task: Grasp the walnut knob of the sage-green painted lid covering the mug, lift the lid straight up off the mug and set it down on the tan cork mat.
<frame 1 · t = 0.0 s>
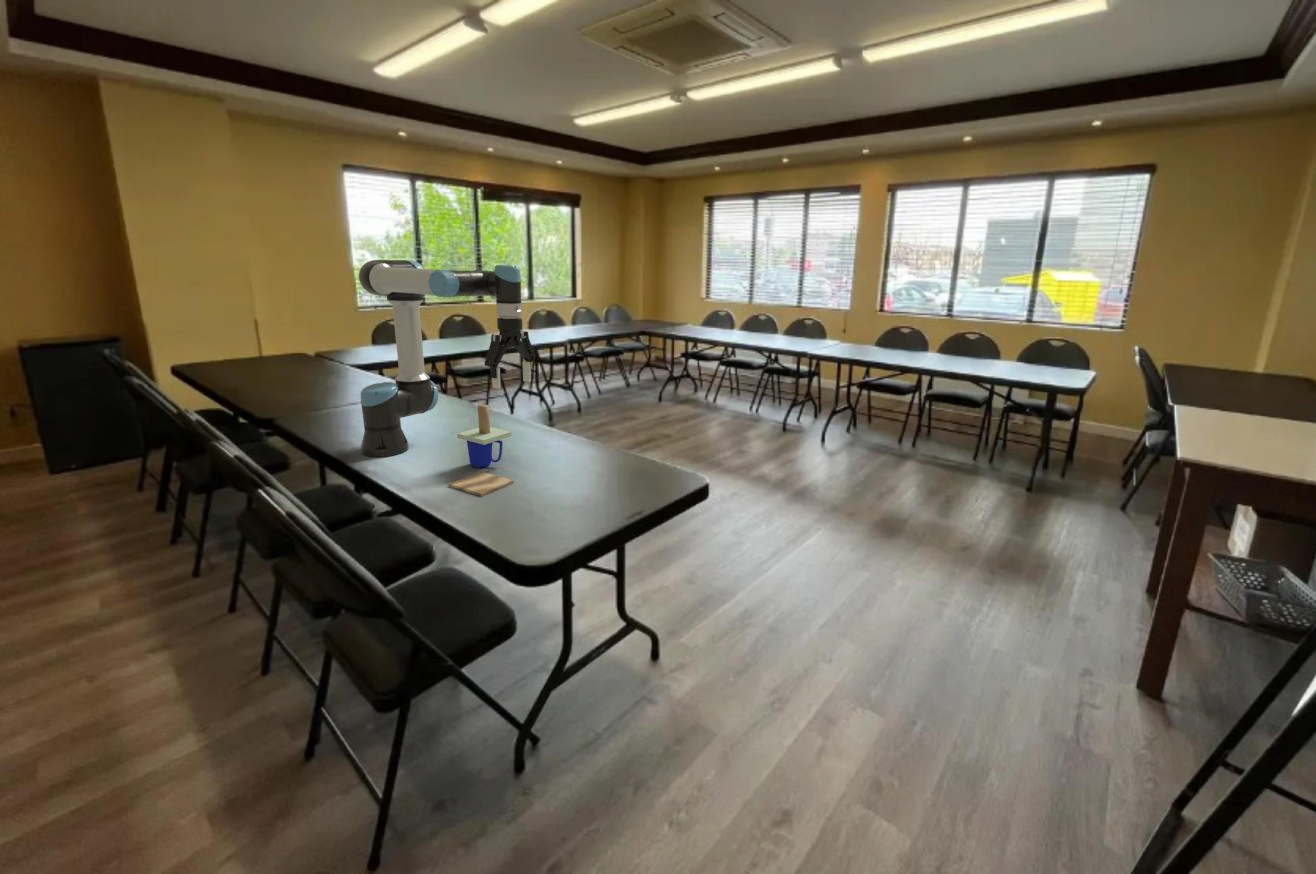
hand: (512, 384, 183), 28 cm above the table, fingers open, 13 cm apart
lid: (484, 437, 189), point 10 cm above the table, touching mug
mug: (486, 466, 192), on the table, touching lid
mat: (481, 484, 176), on the table
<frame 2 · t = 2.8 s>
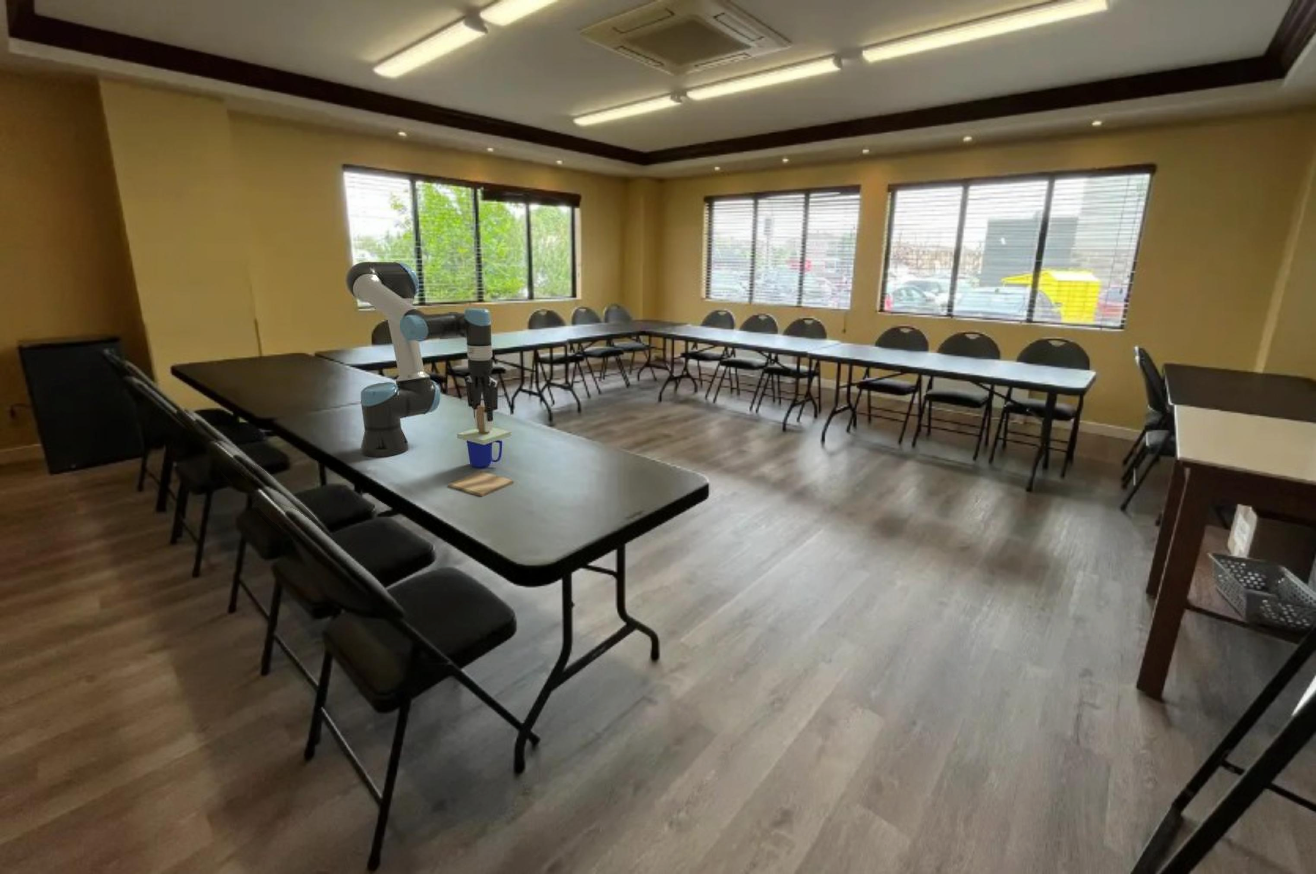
hand: (484, 429, 188), 13 cm above the table, fingers closed on lid, 3 cm apart
lid: (484, 437, 189), point 10 cm above the table, touching gripper, mug
everything else where it was.
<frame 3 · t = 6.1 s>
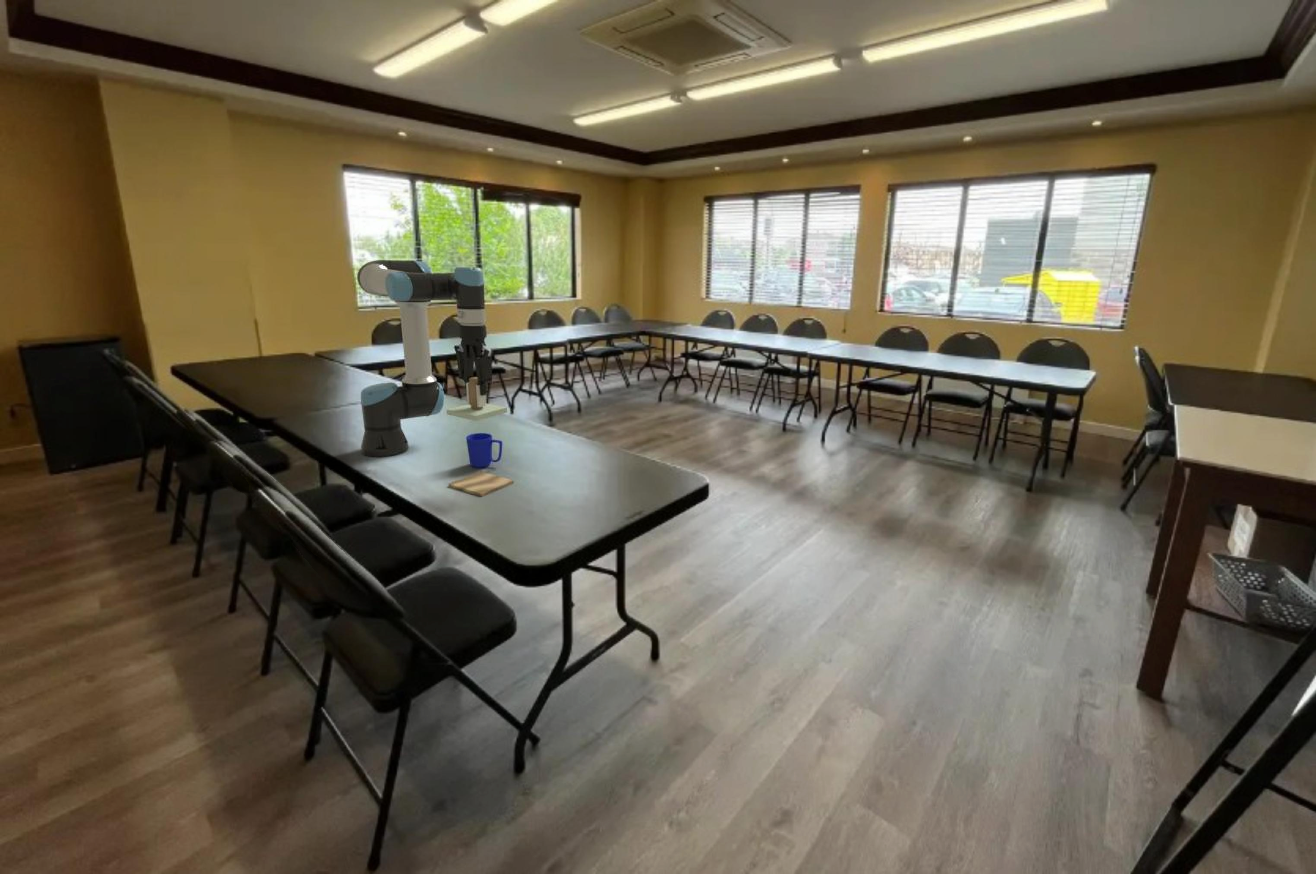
hand: (476, 404, 168), 25 cm above the table, fingers closed on lid, 3 cm apart
lid: (477, 413, 169), point 23 cm above the table, touching gripper
mug: (486, 466, 192), on the table
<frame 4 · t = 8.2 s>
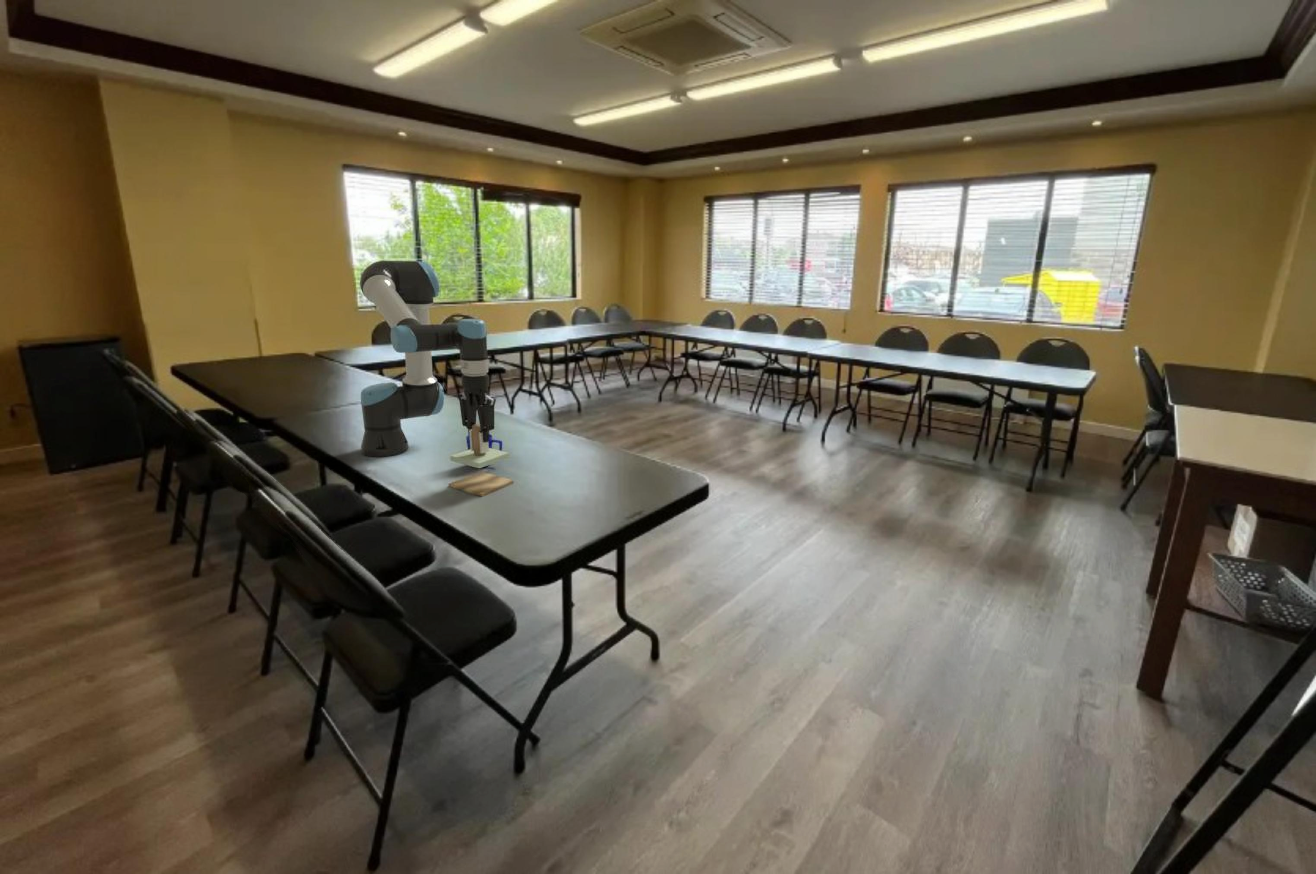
hand: (479, 450, 172), 11 cm above the table, fingers closed on lid, 3 cm apart
lid: (480, 458, 173), point 8 cm above the table, touching gripper
everything else where it was.
when the fingers open (5 cm above the table, at t = 9.8 s): lid drops 1 cm, resting on mat.
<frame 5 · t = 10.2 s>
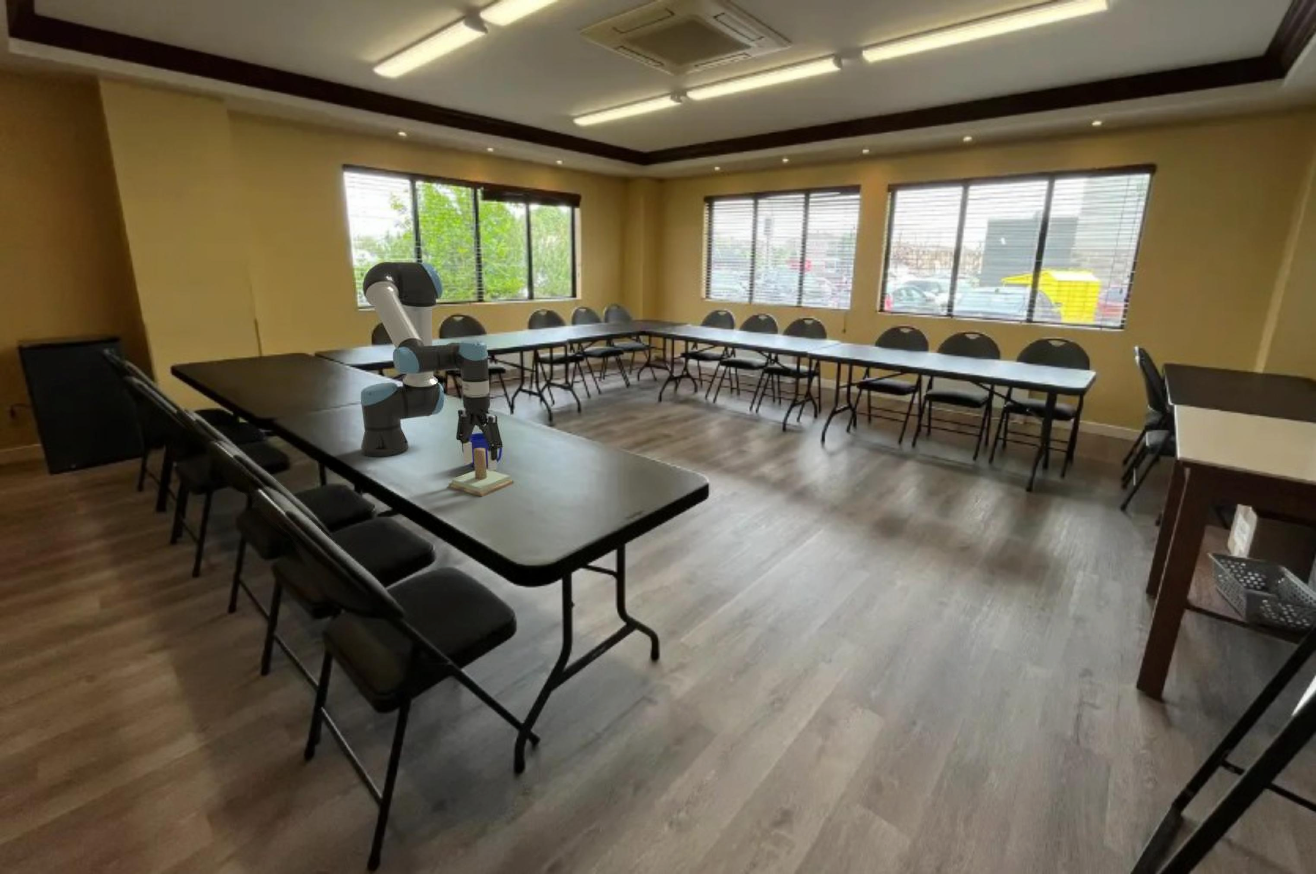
hand: (480, 466, 174), 6 cm above the table, fingers open, 9 cm apart
lid: (481, 482, 175), point 1 cm above the table, touching mat
everything else where it was.
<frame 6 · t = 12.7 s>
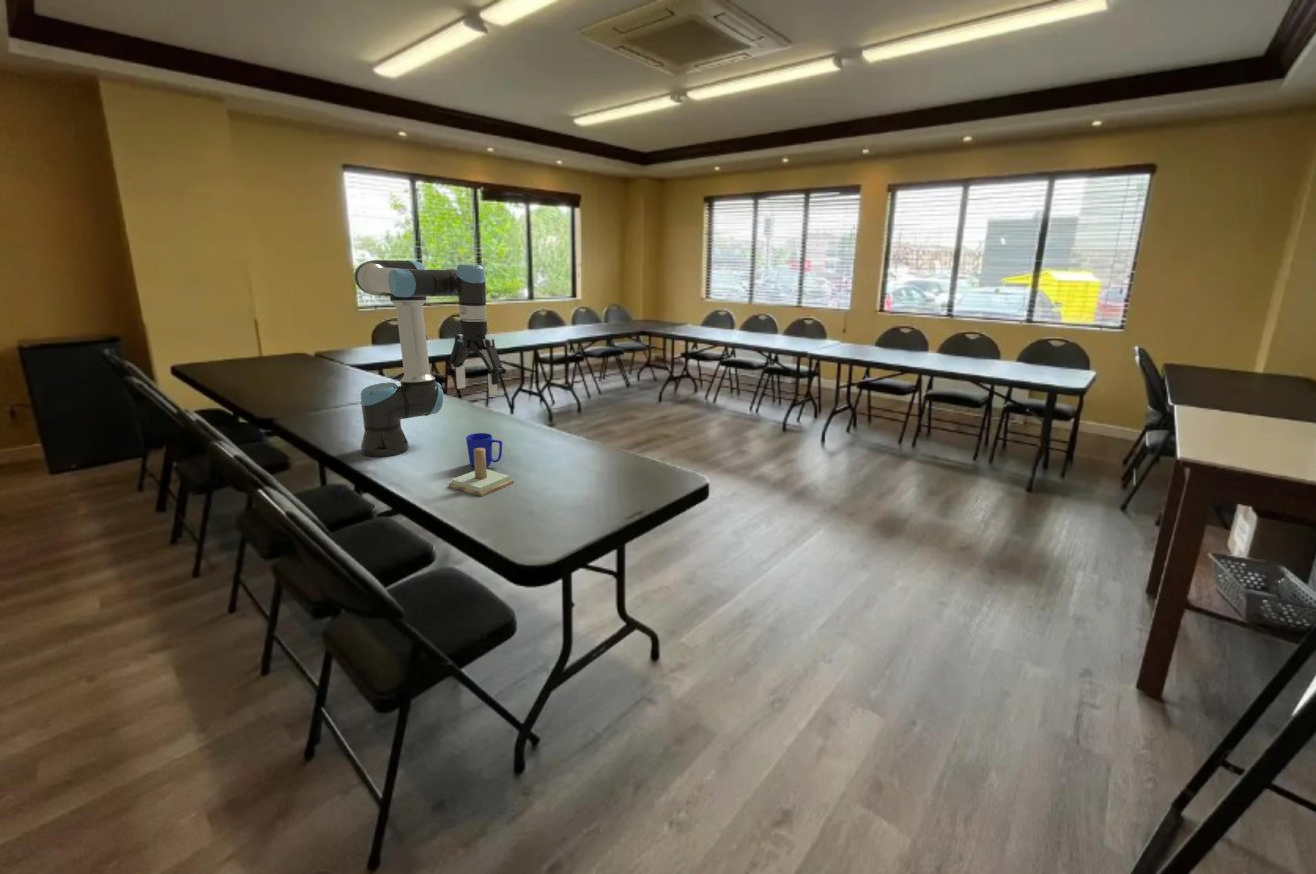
hand: (477, 391, 173), 28 cm above the table, fingers open, 13 cm apart
nothing on the table moved.
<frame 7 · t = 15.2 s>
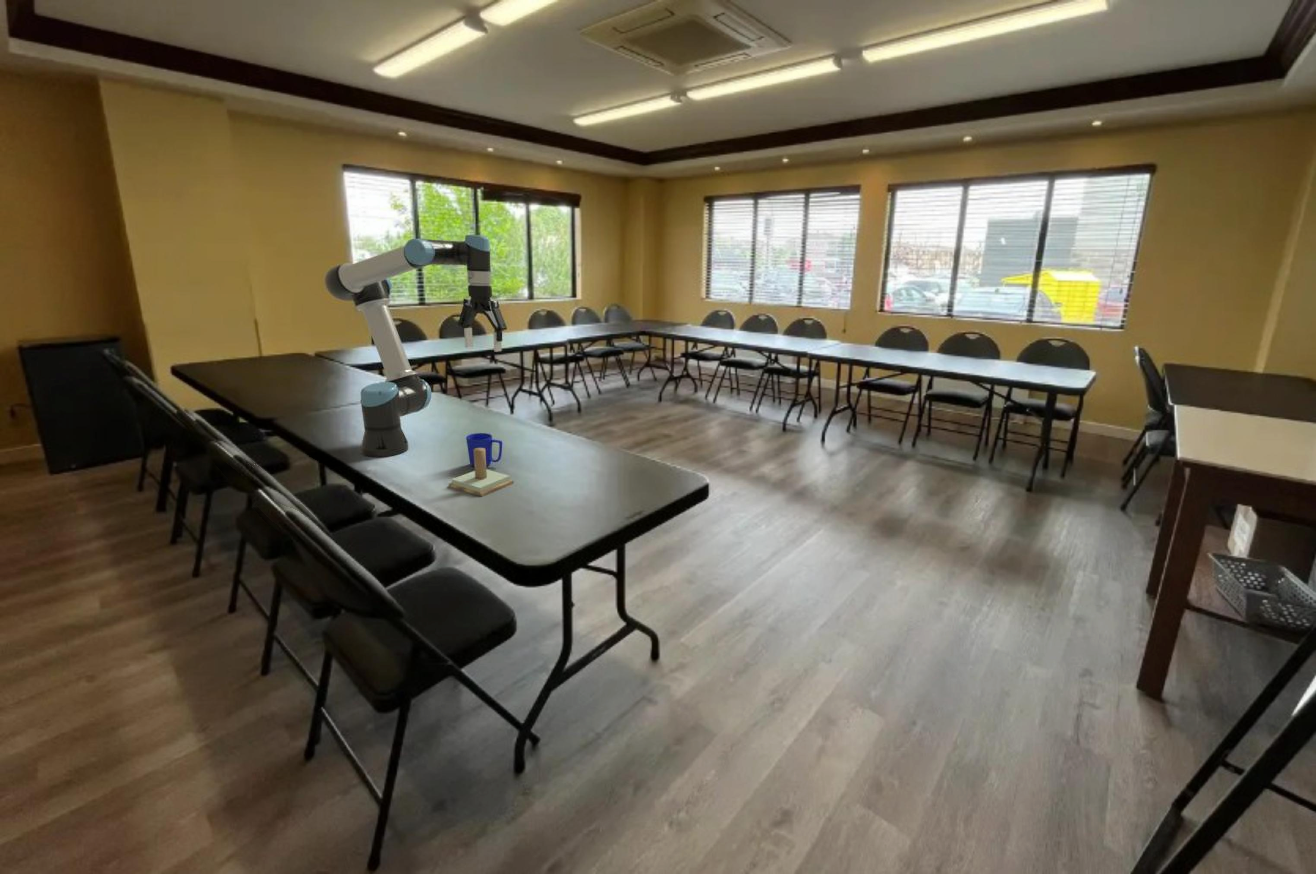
hand: (483, 349, 195), 37 cm above the table, fingers open, 13 cm apart
nothing on the table moved.
at the end: lid inside the target area on the mat (0.1 cm from its centre), point 0.8 cm above the mat's base; lid tilted 0°; mug moved 0.2 cm from its start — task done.
